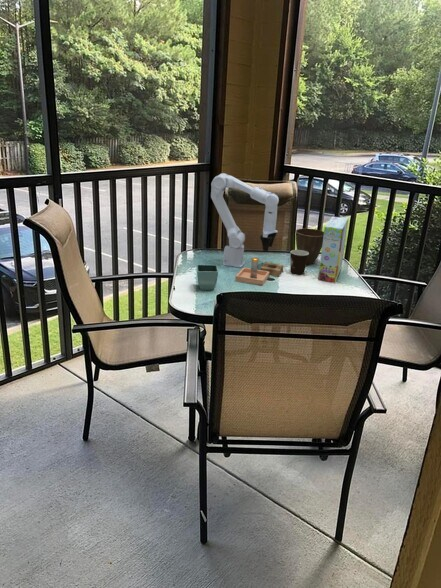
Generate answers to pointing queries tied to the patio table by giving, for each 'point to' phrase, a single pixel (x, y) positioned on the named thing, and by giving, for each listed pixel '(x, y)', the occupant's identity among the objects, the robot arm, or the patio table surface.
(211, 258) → the patio table surface
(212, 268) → the flower pot
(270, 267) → the block
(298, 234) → the plant pot
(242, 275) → the dish
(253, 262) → the pin
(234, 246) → the robot arm
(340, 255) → the snack box
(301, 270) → the coffee mug
